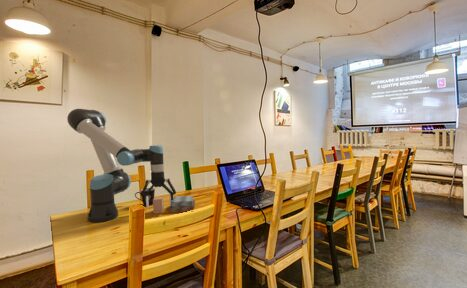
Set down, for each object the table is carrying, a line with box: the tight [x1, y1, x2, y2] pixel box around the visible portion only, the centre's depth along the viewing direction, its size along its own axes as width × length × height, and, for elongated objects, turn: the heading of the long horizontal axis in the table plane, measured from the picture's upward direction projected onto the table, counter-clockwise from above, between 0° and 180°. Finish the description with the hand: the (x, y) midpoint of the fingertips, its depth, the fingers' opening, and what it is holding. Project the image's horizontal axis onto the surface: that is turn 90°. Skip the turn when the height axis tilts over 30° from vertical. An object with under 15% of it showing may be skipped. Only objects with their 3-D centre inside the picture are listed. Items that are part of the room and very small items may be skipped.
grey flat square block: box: [169, 195, 196, 213], centre depth 151 cm, size 14×14×6 cm
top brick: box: [152, 196, 165, 214], centre depth 146 cm, size 5×5×8 cm
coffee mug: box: [134, 187, 156, 207], centre depth 161 cm, size 12×9×10 cm
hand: (159, 206), depth 146 cm, fingers open, 13 cm apart
